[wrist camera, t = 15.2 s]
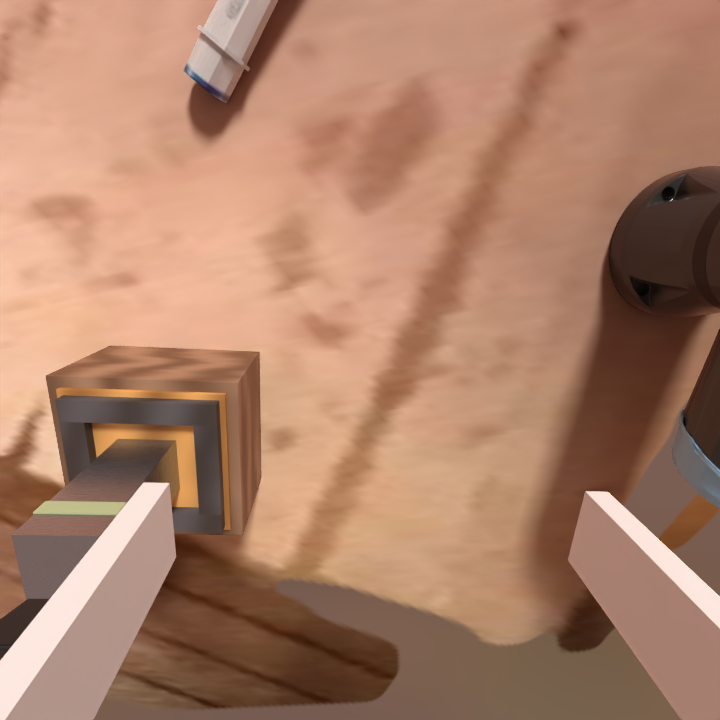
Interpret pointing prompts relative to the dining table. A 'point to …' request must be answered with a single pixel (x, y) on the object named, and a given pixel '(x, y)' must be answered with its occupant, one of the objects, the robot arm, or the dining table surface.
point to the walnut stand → (170, 423)
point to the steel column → (88, 510)
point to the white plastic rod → (227, 44)
